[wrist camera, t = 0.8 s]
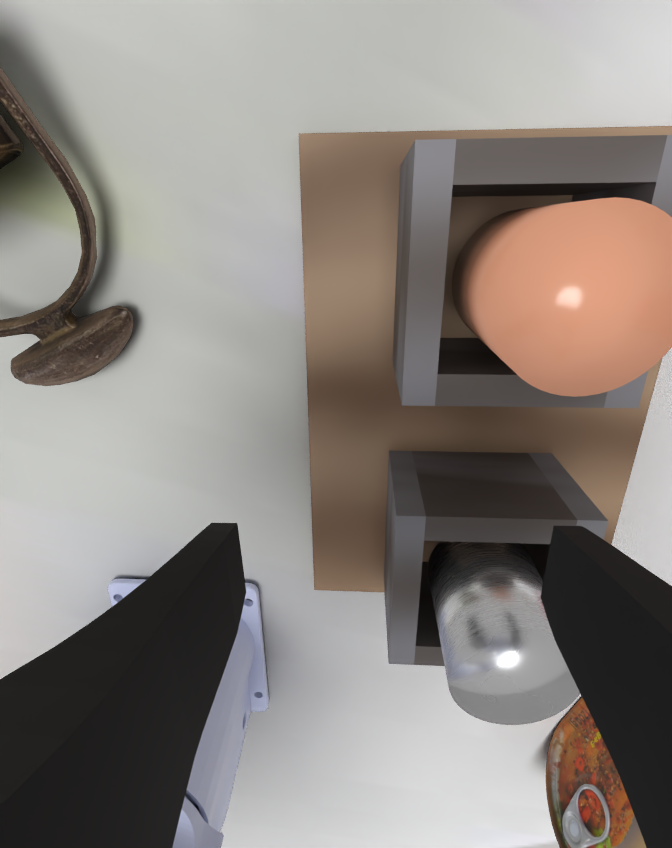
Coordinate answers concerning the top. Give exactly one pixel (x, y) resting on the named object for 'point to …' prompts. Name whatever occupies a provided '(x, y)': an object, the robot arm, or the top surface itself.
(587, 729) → the tin
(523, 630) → the steel plunger
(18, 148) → the brown curved piece
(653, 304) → the terracotta plunger
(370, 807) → the top surface
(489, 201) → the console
